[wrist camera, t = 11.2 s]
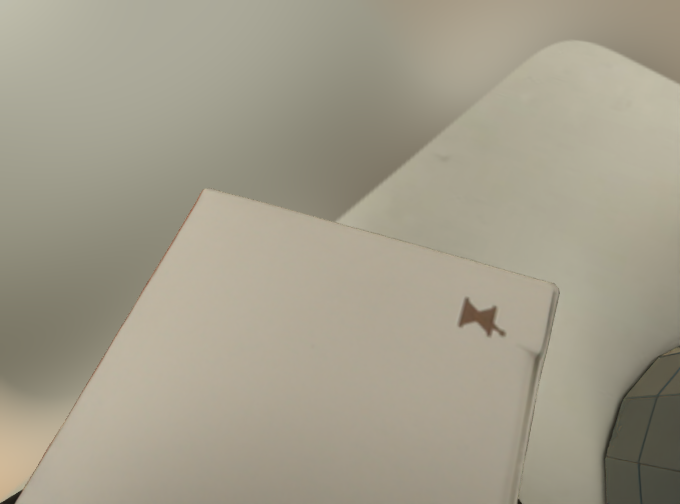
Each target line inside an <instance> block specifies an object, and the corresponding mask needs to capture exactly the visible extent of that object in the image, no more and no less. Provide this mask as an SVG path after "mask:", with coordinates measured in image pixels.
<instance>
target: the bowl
mask: <svg viewBox="0 0 680 504" xmlns="http://www.w3.org/2000/svg"><path fill="white" fill-rule="evenodd" d="M606 456H607V457H605V466H606V491H607V504H680V346H679V347H677V348H675V349H673V350H671V351H669V352H667V353H665V354H663V355H661V356H659V358H657V360H656V361H655V362H654V363H653V364H652V366H651V367H650V368H649V369H648V370H647V371H646V373H645V374H644V375H643V376H642V377H641V379H640V380H639V381H638V382H637V383H636V384H635V386H634V387H633V388H632V389H631V390H630V392H629V393H628V394H627V395H626V396H625V399H624V400H623V401H622V404H621V408H620V411H619V414H618V417H617V421H616V424H615V427H614V430H613V433H612V437H611V440H610V443H609V446H608V450H607V453H606Z"/></svg>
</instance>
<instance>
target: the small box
mask: <svg viewBox="0 0 680 504" xmlns="http://www.w3.org/2000/svg"><path fill="white" fill-rule="evenodd" d="M559 294H560V292H559V288H558V287H557V286H556V285H555V284H554V283H550V282H546V281H543V280H539V279H535V278H531V277H528V276H525V275H521V274H518V273H514V272H510V271H507V270H503V269H500V268H496V267H493V266H489V265H486V264H483V263H479V262H476V261H473V260H469V259H465V258H462V257H458V256H454V255H450V254H447V253H443V252H440V251H436V250H433V249H429V248H426V247H422V246H419V245H415V244H411V243H408V242H404V241H401V240H397V239H393V238H390V237H386V236H383V235H379V234H376V233H372V232H368V231H365V230H361V229H357V228H353V227H350V226H346V225H343V224H339V223H335V222H332V221H328V220H325V219H321V218H318V217H314V216H310V215H307V214H303V213H299V212H296V211H293V210H289V209H286V208H282V207H278V206H275V205H271V204H268V203H263V202H260V201H255V200H252V199H249V198H244V197H241V196H236V195H233V194H228V193H224V192H221V191H218V190H215V189H212V188H207V189H203V190H202V192H201V193H200V195H199V197H198V199H197V201H196V203H195V204H194V206H193V208H192V209H191V211H190V213H189V214H188V216H187V218H186V220H185V221H184V223H183V225H182V226H181V228H180V229H179V231H178V233H177V234H176V236H175V238H174V240H173V241H172V243H171V245H170V246H169V248H168V250H167V252H166V253H165V255H164V256H163V258H162V260H161V261H160V263H159V264H158V266H157V268H156V269H155V271H154V273H153V274H152V276H151V278H150V279H149V281H148V282H147V284H146V286H145V287H144V289H143V291H142V292H141V294H140V296H139V298H138V299H137V301H136V303H135V305H134V306H133V308H132V310H131V312H130V313H129V315H128V316H127V318H126V319H125V321H124V323H123V324H122V326H121V328H120V329H119V331H118V333H117V334H116V336H115V338H114V340H113V341H112V343H111V345H110V346H109V348H108V350H107V351H106V353H105V354H104V356H103V358H102V359H101V361H100V363H99V364H98V366H97V368H96V369H95V371H94V373H93V374H92V376H91V378H90V379H89V381H88V383H87V384H86V386H85V388H84V390H83V391H82V393H81V395H80V396H79V398H78V400H77V401H76V403H75V405H74V407H73V408H72V410H71V412H70V413H69V415H68V417H67V418H66V420H65V422H64V423H63V425H62V426H61V428H60V429H59V431H58V433H57V434H56V436H55V437H54V439H53V441H52V442H51V444H50V445H49V447H48V449H47V450H46V452H45V454H44V455H43V457H42V459H41V461H40V462H39V464H38V466H37V467H36V469H35V471H34V472H33V474H32V476H31V477H30V479H29V481H28V482H27V484H26V486H25V487H24V489H23V491H22V492H21V494H20V496H19V497H18V499H17V501H16V502H15V504H517V502H518V496H519V491H520V485H521V479H522V472H523V465H524V460H525V456H526V451H527V446H528V441H529V435H530V430H531V425H532V419H533V414H534V408H535V402H536V396H537V391H538V386H539V381H540V377H541V373H542V368H543V364H544V361H545V357H546V354H547V349H548V345H549V340H550V335H551V330H552V325H553V321H554V316H555V312H556V307H557V303H558V298H559Z"/></svg>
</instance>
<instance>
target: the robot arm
mask: <svg viewBox="0 0 680 504" xmlns="http://www.w3.org/2000/svg"><path fill="white" fill-rule="evenodd" d="M22 491H23V490H21V491H19V492H18V493H16V494H15V495H13V496H11V497H10V498H8V499H6V500H5V501H3V502H2V503H0V504H15V502H16V501H17V499H18V497H19V496H20V494H21V492H22ZM517 504H522V503H521V502H520V500H519V499H518V502H517Z"/></svg>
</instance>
